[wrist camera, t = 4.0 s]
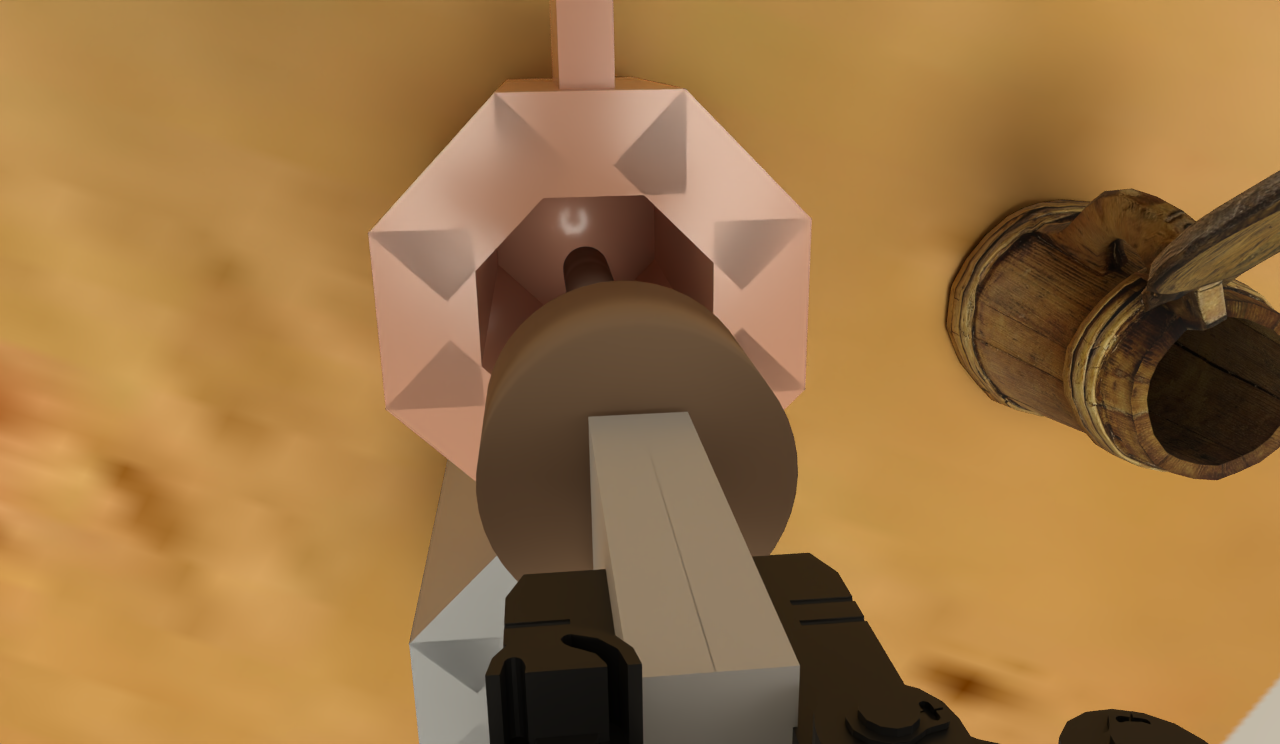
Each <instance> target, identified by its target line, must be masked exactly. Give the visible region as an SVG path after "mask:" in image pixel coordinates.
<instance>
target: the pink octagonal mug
mask: <svg viewBox="0 0 1280 744" xmlns="http://www.w3.org/2000/svg"><path fill="white" fill-rule="evenodd" d="M549 3H550V28H551V53H552V77H553V78H550V79H507V80H506V81H505V82H504V83H503V84H502V85H501V86H500V87H499V88H498V89H497V90H496V91H494V92H493V95H492V96H491V97H490V98H489V99H488V100H487V101H486V102H485V104H484V105H483V106H482V107H481V108H480V109H479V110H478V111H477V112H476V114H475V115H474V116H473V117H472V118H471V119H470V120H469V121H468V122H467V124H466V125H465V126H464V127H463V128H462V129H461V130H460V131H459V133H458V134H457V135H456V136H455V137H454V138H453V139H452V140H451V141H450V143H449V144H448V145H447V146H446V147H445V148H444V149H443V150H442V151H441V153H440V154H439V155H438V156H437V157H436V158H435V159H434V160H433V162H432V163H431V164H430V165H429V166H428V167H427V168H426V169H425V170H424V172H423V173H422V174H421V175H420V176H419V177H418V178H417V179H416V180H415V182H414V183H413V184H412V185H411V186H410V187H409V188H408V189H407V191H406V192H405V193H404V194H403V195H402V196H401V197H400V198H399V199H398V201H397V202H396V203H395V204H394V205H393V206H392V207H391V208H390V209H389V210H388V211H387V212H386V214H385V215H384V216H383V217H382V218H381V219H380V220H379V221H378V222H377V223H376V224H375V225H374V227H373V228H372V229H371V230H370V231H369V232H368V235H369V245H370V255H371V265H372V275H373V285H374V295H375V305H376V315H377V325H378V335H379V345H380V355H381V365H382V375H383V385H384V395H385V405H386V410H387V411H388V412H390V413H391V414H392V415H393V416H395V417H396V418H397V419H398V420H400V421H401V422H402V423H403V424H405V425H406V426H407V427H408V428H410V429H411V430H412V431H413V432H415V433H416V434H417V435H418V436H420V437H421V438H422V439H423V440H425V441H426V442H427V443H428V444H430V445H431V446H432V447H433V448H435V449H436V450H437V451H438V452H440V453H441V454H442V455H443V456H445V457H446V458H447V459H448V460H450V461H451V462H452V463H453V464H455V465H456V466H457V467H458V468H460V469H461V470H462V471H463V472H465V473H466V474H467V475H468V476H470V477H471V478H472V479H473V480H475V481H476V470H477V463H478V455H479V448H480V440H481V433H482V426H483V418H484V411H485V403H486V396H487V389H488V384H489V381H490V377H491V374H492V370H493V368H494V366H495V363H496V361H497V359H498V357H499V354H500V353H501V351H502V349H503V348H504V346H505V345H506V343H507V341H508V340H509V338H510V337H511V336H512V335H513V333H514V332H515V331H516V330H517V329H518V327H519V326H520V325H521V324H522V323H523V322H524V321H525V320H526V319H527V318H528V317H529V316H531V315H532V314H533V313H534V312H535V311H537V310H538V309H539V308H541V307H542V306H544V305H545V304H546V303H548V302H549V301H551V300H553V299H555V298H557V297H559V296H561V295H563V294H565V293H566V287H565V280H564V273H563V265H564V261H565V259H566V257H567V256H568V254H569V253H570V252H571V251H573V250H574V249H576V248H579V247H584V246H588V247H593V248H595V249H597V250H599V251H600V252H601V253H602V254H603V255H604V256H605V258H606V260H607V263H608V265H609V268H610V271H611V274H612V277H613V279H614V281H639V282H646V283H652V284H657V285H660V286H664V287H667V288H670V289H673V290H675V291H678V292H680V293H682V294H684V295H687V296H689V297H690V298H692V299H694V300H695V301H697V302H698V303H700V304H702V305H703V306H705V307H706V308H707V309H708V310H709V311H711V312H712V313H713V314H714V315H715V316H717V317H718V319H719V320H720V321H721V322H722V323H723V324H724V325H725V326H726V327H727V328H728V329H729V331H730V332H731V334H732V335H733V336H734V338H735V339H736V341H737V342H738V343H739V345H740V346H741V348H742V349H743V350H744V352H745V353H746V355H747V356H748V358H749V359H750V360H751V362H752V363H753V365H754V366H755V367H756V369H757V370H758V372H759V373H760V374H761V376H762V377H763V379H764V380H765V381H766V383H767V384H768V386H769V387H770V388H771V390H772V391H773V393H774V394H775V396H776V397H777V399H778V400H779V402H780V404H781V406H782V408H783V410H784V409H785V408H786V407H787V406H788V405H789V404H791V403H792V402H793V401H794V400H795V399H796V398H797V397H798V396H799V395H800V394H801V393H802V392H803V391H804V390H805V389H806V388H805V379H806V353H807V327H808V301H809V275H810V249H811V223H812V218H811V217H809V216H808V215H807V214H806V213H805V212H804V211H803V210H802V208H801V207H800V206H799V205H798V204H797V203H796V202H795V201H794V200H793V199H792V198H791V197H790V196H789V195H788V194H787V193H786V192H785V191H784V190H783V189H782V188H781V187H780V186H779V185H778V184H777V183H776V182H775V181H774V180H773V179H772V178H771V177H770V176H769V175H768V173H767V172H766V171H765V170H764V169H763V168H762V167H761V166H760V165H759V164H758V163H757V162H756V161H755V160H754V159H753V158H752V157H751V156H750V155H749V154H748V153H747V152H746V151H745V150H744V149H743V148H742V147H741V146H740V145H739V144H738V143H737V142H736V141H735V139H734V138H733V137H732V136H731V135H730V134H729V133H728V132H727V131H726V130H725V129H724V128H723V127H722V126H721V125H720V124H719V123H718V122H717V121H716V120H715V119H714V118H713V117H712V116H711V115H710V114H709V113H708V112H707V111H706V110H705V109H704V108H703V107H702V105H701V104H700V103H699V102H698V101H697V100H696V99H695V98H694V97H693V96H692V95H691V94H690V93H689V92H688V91H687V90H686V89H685V88H681V87H676V86H672V85H667V84H663V83H658V82H654V81H649V80H645V79H640V78H635V77H615V63H614V17H613V0H549Z"/></svg>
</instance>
